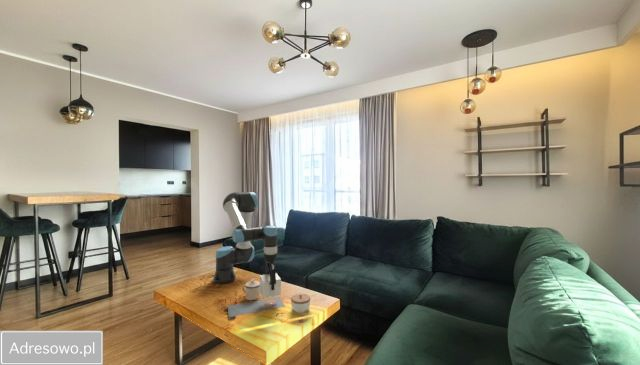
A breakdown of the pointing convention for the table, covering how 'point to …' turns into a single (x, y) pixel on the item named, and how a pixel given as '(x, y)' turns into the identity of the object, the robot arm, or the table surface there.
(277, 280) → the block
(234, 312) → the board
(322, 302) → the table surface
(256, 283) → the teacup with lid
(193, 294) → the table surface
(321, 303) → the table surface
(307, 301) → the lidded jar
